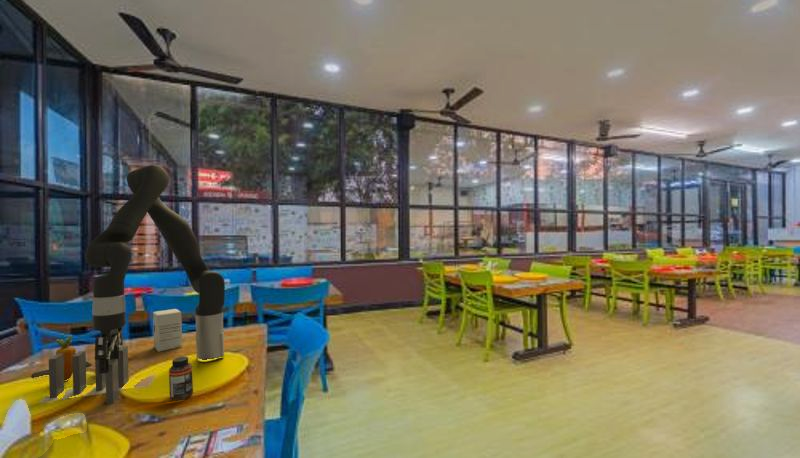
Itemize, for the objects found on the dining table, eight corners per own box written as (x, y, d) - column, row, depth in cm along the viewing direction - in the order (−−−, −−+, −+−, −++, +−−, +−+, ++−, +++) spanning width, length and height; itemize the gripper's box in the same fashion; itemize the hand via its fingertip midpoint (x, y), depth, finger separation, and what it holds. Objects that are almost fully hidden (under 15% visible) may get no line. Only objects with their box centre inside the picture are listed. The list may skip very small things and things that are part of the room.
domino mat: (156, 375, 126) (156, 374, 126) (149, 387, 117) (149, 385, 117) (54, 390, 116) (54, 389, 116) (37, 404, 107) (37, 403, 107)
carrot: (53, 386, 119) (52, 339, 119) (59, 380, 124) (58, 335, 124) (73, 383, 122) (72, 337, 122) (78, 377, 126) (77, 333, 126)
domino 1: (86, 387, 117) (85, 350, 117) (79, 393, 112) (78, 355, 112) (80, 388, 116) (79, 351, 116) (73, 394, 112) (72, 356, 112)
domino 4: (128, 381, 121) (127, 345, 121) (123, 387, 117) (123, 350, 117) (122, 382, 121) (121, 346, 121) (117, 388, 116) (116, 351, 116)
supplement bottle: (176, 392, 113) (175, 355, 113) (196, 391, 113) (195, 354, 113) (165, 402, 107) (164, 362, 107) (187, 400, 107) (186, 361, 107)
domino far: (64, 390, 115) (63, 353, 115) (56, 397, 110) (55, 358, 110) (57, 391, 114) (56, 354, 114) (49, 398, 110) (48, 359, 110)
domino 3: (118, 397, 110) (117, 358, 110) (113, 404, 106) (112, 364, 106) (112, 398, 110) (111, 359, 110) (106, 405, 105) (105, 365, 105)
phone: (92, 364, 137) (36, 378, 125) (92, 366, 137) (36, 380, 125) (86, 360, 142) (31, 373, 129) (86, 363, 142) (31, 376, 129)
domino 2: (107, 384, 119) (107, 348, 119) (102, 390, 115) (101, 353, 114) (101, 385, 119) (100, 348, 118) (95, 391, 114) (94, 353, 114)
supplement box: (153, 347, 158) (152, 311, 158) (177, 342, 164) (176, 308, 164) (157, 352, 151) (156, 315, 151) (182, 346, 157) (181, 311, 157)
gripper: (116, 315, 102) (117, 374, 102) (132, 305, 116) (132, 358, 116) (82, 318, 100) (83, 378, 100) (102, 307, 113) (103, 361, 113)
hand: (109, 367), depth 108 cm, fingers open, 8 cm apart
